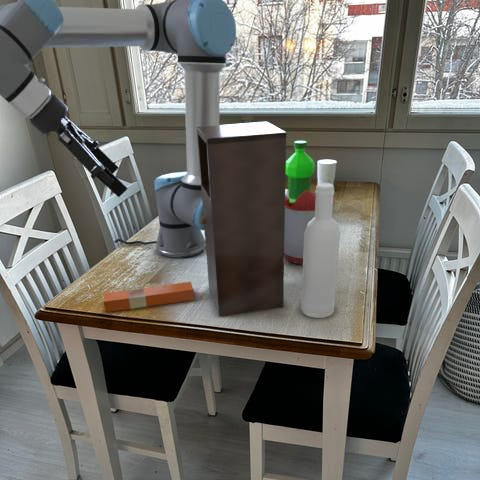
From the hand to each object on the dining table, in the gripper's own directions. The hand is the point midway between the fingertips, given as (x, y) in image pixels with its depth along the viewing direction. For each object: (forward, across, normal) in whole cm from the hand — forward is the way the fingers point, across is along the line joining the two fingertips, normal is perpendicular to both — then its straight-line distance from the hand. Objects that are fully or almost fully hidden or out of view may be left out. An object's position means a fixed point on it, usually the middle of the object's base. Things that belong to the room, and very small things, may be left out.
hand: (118, 181), depth 106 cm
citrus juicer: (+54, +1, -22) cm, 58 cm away
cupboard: (+37, -16, -3) cm, 41 cm away
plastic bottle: (+66, +36, -32) cm, 82 cm away
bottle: (+45, -28, -15) cm, 55 cm away
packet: (+24, -8, +15) cm, 30 cm away
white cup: (+84, +63, -51) cm, 117 cm away
